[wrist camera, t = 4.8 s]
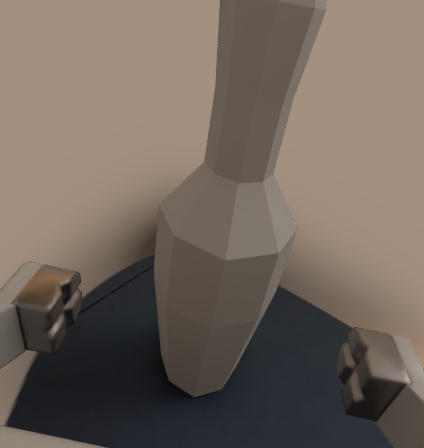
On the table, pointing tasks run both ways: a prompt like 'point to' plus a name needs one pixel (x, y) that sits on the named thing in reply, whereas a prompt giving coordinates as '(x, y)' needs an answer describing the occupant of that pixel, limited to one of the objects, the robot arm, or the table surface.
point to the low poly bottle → (232, 197)
